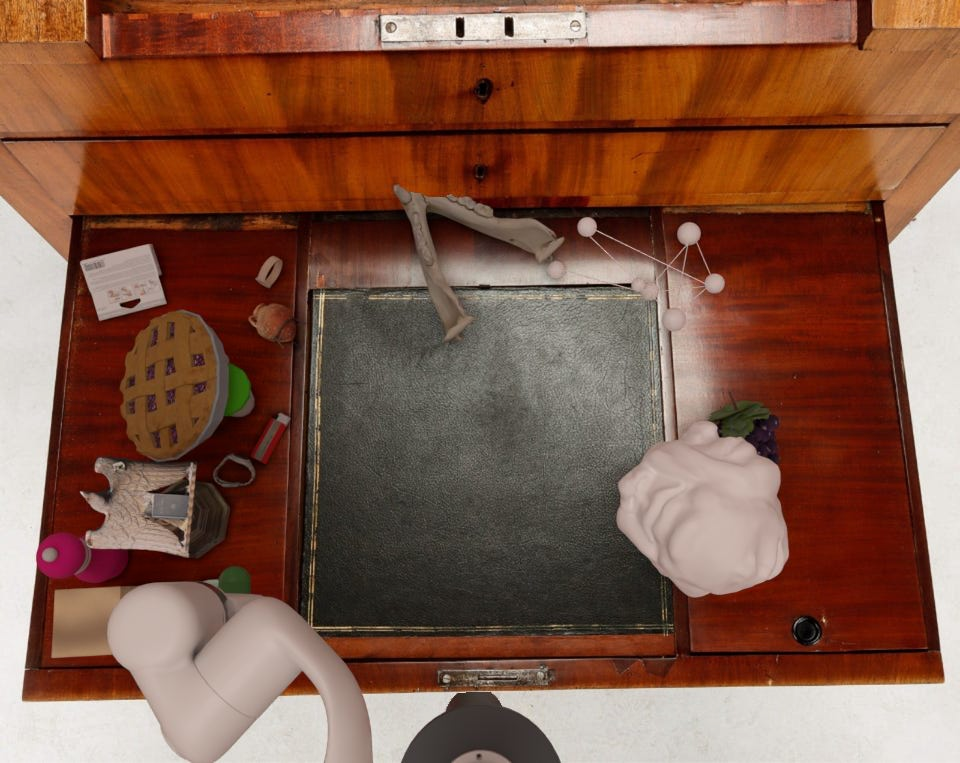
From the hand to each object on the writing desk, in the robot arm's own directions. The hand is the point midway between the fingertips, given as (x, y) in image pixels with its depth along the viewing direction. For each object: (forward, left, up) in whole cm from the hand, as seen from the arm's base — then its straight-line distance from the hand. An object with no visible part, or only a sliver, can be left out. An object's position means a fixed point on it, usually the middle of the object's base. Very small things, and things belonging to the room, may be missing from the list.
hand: (237, 613), depth 102 cm
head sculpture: (+2, -67, -12) cm, 68 cm away
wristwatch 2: (+18, +7, -30) cm, 35 cm away
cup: (+31, +7, -30) cm, 44 cm away
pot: (+45, -2, -26) cm, 52 cm away
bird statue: (+14, +12, -30) cm, 36 cm away
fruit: (+15, -72, -29) cm, 79 cm away
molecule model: (+56, -55, -27) cm, 83 cm away
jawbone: (+55, -28, -31) cm, 69 cm away
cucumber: (0, 0, 0) cm, 0 cm away
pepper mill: (+8, +27, -31) cm, 41 cm away
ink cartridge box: (+56, +26, -27) cm, 67 cm away
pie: (+32, +13, -22) cm, 40 cm away
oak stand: (0, +20, -30) cm, 36 cm away
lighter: (+22, +4, -30) cm, 37 cm away
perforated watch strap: (+51, +2, -31) cm, 60 cm away
